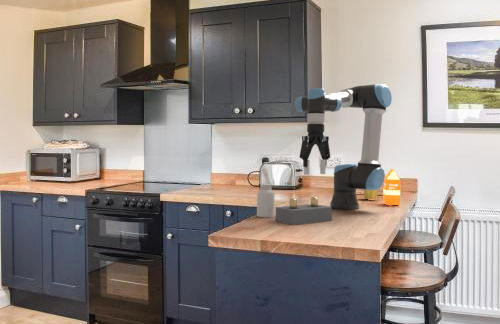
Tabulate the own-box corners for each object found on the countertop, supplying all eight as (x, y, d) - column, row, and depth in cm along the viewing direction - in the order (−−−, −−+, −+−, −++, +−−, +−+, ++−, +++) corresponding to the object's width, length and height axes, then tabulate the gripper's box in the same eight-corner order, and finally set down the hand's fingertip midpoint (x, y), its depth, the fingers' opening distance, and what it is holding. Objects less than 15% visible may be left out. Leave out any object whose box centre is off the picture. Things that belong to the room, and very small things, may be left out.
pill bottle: (259, 218, 220) (260, 185, 219) (254, 215, 227) (255, 183, 227) (276, 217, 222) (276, 184, 221) (270, 214, 230) (271, 183, 229)
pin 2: (314, 208, 219) (314, 196, 219) (319, 209, 217) (319, 197, 216) (309, 209, 217) (309, 197, 217) (313, 210, 215) (314, 198, 215)
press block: (313, 216, 225) (314, 204, 225) (331, 220, 215) (331, 207, 215) (275, 220, 213) (275, 207, 213) (292, 224, 203) (292, 210, 203)
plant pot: (358, 199, 296) (358, 183, 295) (373, 198, 299) (373, 182, 298) (367, 201, 286) (367, 184, 285) (382, 200, 289) (383, 184, 289)
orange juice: (396, 204, 276) (397, 168, 275) (400, 206, 267) (401, 169, 266) (382, 203, 276) (383, 168, 275) (385, 205, 268) (386, 169, 267)
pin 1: (293, 210, 213) (293, 198, 212) (298, 211, 210) (298, 199, 210) (287, 211, 211) (288, 198, 211) (292, 212, 208) (292, 199, 208)
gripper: (328, 124, 224) (327, 173, 225) (291, 122, 213) (290, 174, 214) (339, 124, 218) (338, 174, 219) (302, 122, 206) (301, 175, 207)
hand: (314, 174), depth 216 cm, fingers open, 9 cm apart
